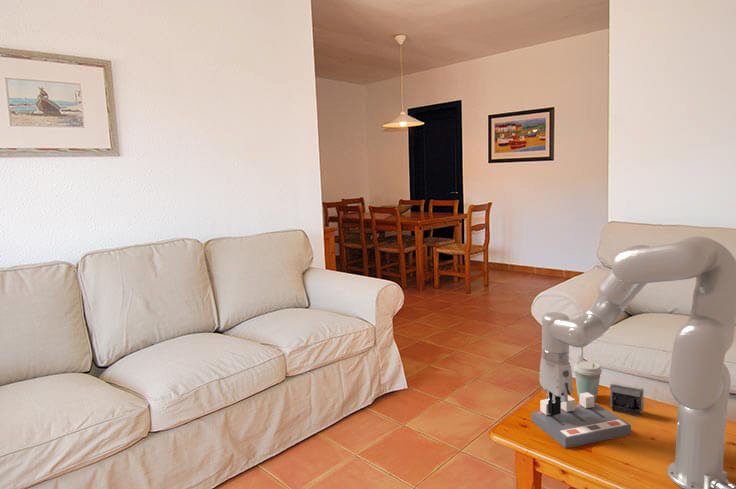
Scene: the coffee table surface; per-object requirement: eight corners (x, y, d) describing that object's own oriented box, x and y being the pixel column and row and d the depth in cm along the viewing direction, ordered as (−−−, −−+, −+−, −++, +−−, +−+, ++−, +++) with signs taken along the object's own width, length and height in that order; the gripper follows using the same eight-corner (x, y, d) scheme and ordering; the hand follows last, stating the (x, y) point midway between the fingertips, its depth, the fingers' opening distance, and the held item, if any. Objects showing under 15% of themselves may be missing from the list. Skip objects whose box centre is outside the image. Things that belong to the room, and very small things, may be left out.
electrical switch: (643, 412, 151) (644, 385, 149) (642, 420, 147) (643, 393, 145) (610, 405, 156) (610, 379, 154) (608, 413, 152) (608, 387, 150)
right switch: (594, 406, 149) (594, 396, 148) (585, 408, 148) (586, 397, 148) (587, 402, 152) (587, 392, 151) (579, 404, 151) (579, 393, 151)
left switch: (554, 413, 146) (554, 402, 145) (546, 415, 145) (546, 404, 144) (548, 409, 148) (548, 398, 148) (540, 410, 148) (540, 400, 147)
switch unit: (630, 434, 138) (630, 424, 138) (565, 448, 133) (565, 437, 132) (591, 409, 154) (591, 400, 153) (531, 420, 148) (531, 411, 148)
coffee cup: (590, 406, 156) (591, 371, 154) (567, 397, 163) (568, 363, 161) (606, 399, 160) (607, 365, 158) (583, 390, 167) (584, 358, 166)
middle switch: (574, 410, 147) (575, 399, 147) (566, 411, 146) (566, 401, 146) (568, 406, 150) (568, 395, 150) (560, 407, 149) (560, 396, 149)
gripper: (583, 362, 134) (582, 423, 137) (550, 345, 149) (549, 400, 151) (560, 365, 133) (559, 427, 135) (529, 348, 147) (528, 404, 149)
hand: (554, 413), depth 143 cm, fingers closed
